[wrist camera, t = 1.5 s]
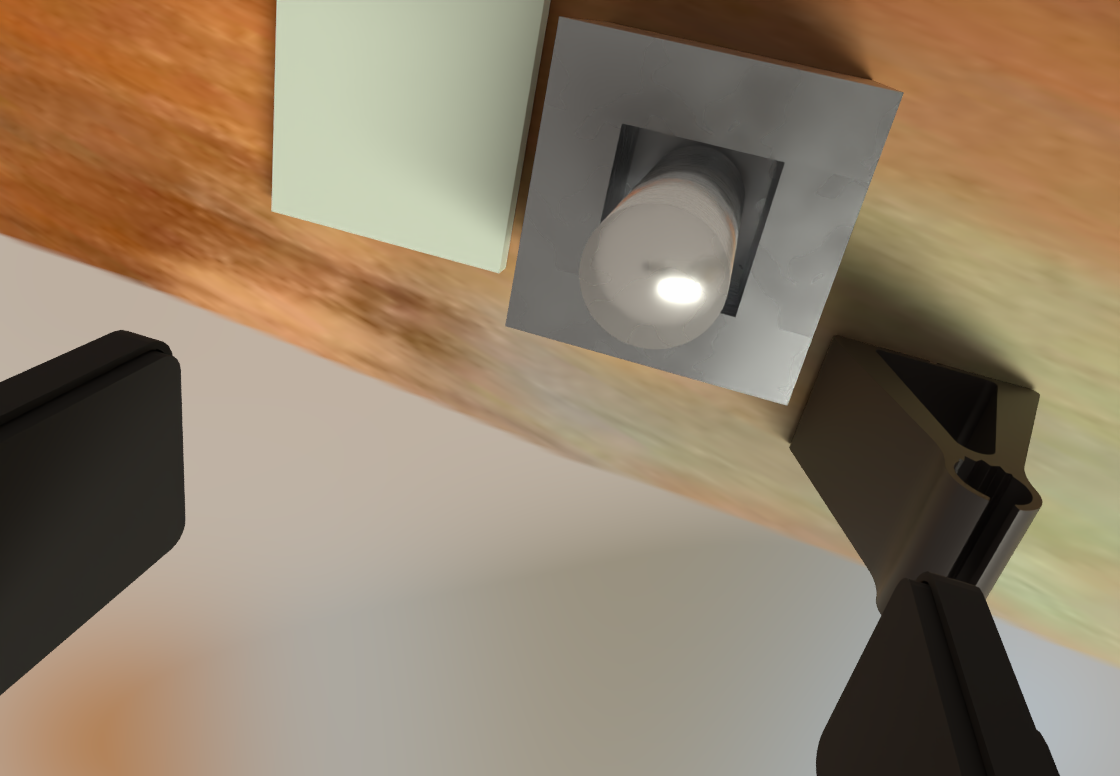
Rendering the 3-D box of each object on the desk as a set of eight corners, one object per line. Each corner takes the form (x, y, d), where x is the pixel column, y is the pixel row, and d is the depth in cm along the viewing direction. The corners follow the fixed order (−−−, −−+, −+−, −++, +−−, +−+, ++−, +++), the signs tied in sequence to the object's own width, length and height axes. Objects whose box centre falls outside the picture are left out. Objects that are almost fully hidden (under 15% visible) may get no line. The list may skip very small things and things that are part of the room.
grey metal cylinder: (758, 159, 30) (749, 224, 19) (728, 256, 32) (705, 366, 21) (657, 135, 30) (596, 185, 20) (634, 232, 32) (566, 327, 22)
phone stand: (1037, 391, 34) (1158, 551, 23) (976, 501, 37) (1059, 690, 26) (833, 332, 35) (859, 460, 24) (788, 443, 38) (794, 602, 27)
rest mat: (551, -5, 32) (545, -6, 31) (505, 267, 38) (499, 273, 37) (291, -62, 34) (278, -64, 33) (282, 207, 39) (271, 211, 38)
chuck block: (873, 80, 31) (903, 92, 23) (784, 332, 35) (787, 405, 28) (606, 21, 32) (559, 16, 25) (556, 271, 37) (505, 325, 30)
